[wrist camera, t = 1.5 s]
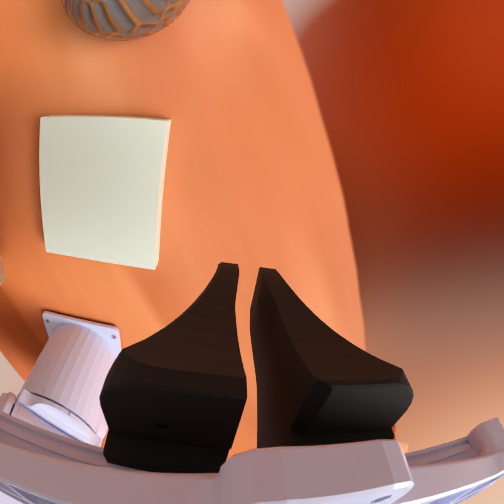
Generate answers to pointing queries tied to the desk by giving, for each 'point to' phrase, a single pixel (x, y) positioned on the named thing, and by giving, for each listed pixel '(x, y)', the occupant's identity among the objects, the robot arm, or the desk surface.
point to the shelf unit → (2, 273)
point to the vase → (123, 16)
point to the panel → (103, 186)
